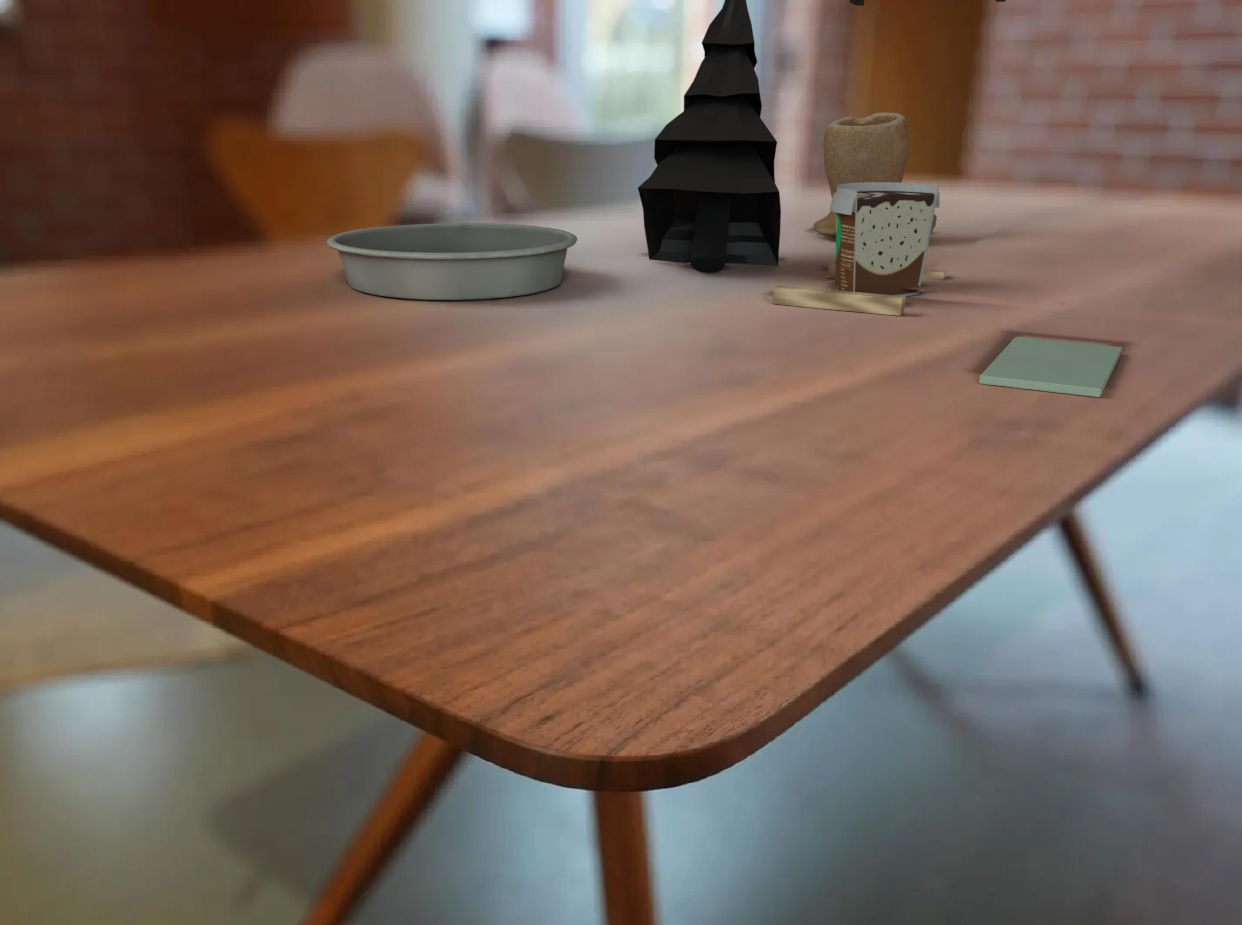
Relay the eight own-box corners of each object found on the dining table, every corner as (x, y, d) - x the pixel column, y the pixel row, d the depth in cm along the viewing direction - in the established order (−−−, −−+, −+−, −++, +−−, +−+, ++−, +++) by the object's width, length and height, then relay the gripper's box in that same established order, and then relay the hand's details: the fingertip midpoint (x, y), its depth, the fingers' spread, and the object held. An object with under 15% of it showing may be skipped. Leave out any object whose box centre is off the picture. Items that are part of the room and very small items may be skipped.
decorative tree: (776, 300, 129) (804, 16, 135) (777, 231, 115) (807, -83, 120) (645, 294, 131) (677, 15, 137) (629, 226, 117) (666, -82, 122)
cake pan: (548, 261, 131) (547, 218, 129) (604, 299, 110) (604, 249, 108) (325, 268, 126) (321, 223, 124) (338, 309, 104) (333, 256, 102)
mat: (1120, 354, 91) (1122, 346, 90) (1099, 397, 79) (1101, 388, 78) (1014, 344, 94) (1015, 336, 94) (978, 383, 82) (979, 375, 81)
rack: (945, 285, 119) (947, 270, 118) (900, 316, 104) (902, 298, 103) (830, 276, 124) (832, 261, 123) (772, 303, 109) (773, 287, 108)
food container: (881, 284, 119) (892, 179, 115) (929, 292, 115) (942, 184, 111) (794, 295, 113) (803, 185, 108) (841, 305, 108) (852, 190, 104)
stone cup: (803, 243, 147) (814, 113, 141) (819, 232, 157) (830, 110, 151) (926, 249, 143) (943, 115, 136) (935, 237, 153) (950, 112, 146)
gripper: (1108, -269, 103) (1066, 3, 111) (831, -239, 112) (811, 9, 121) (1102, -298, 96) (1058, -7, 105) (809, -263, 106) (790, 0, 114)
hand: (926, 2), depth 113 cm, fingers open, 13 cm apart
